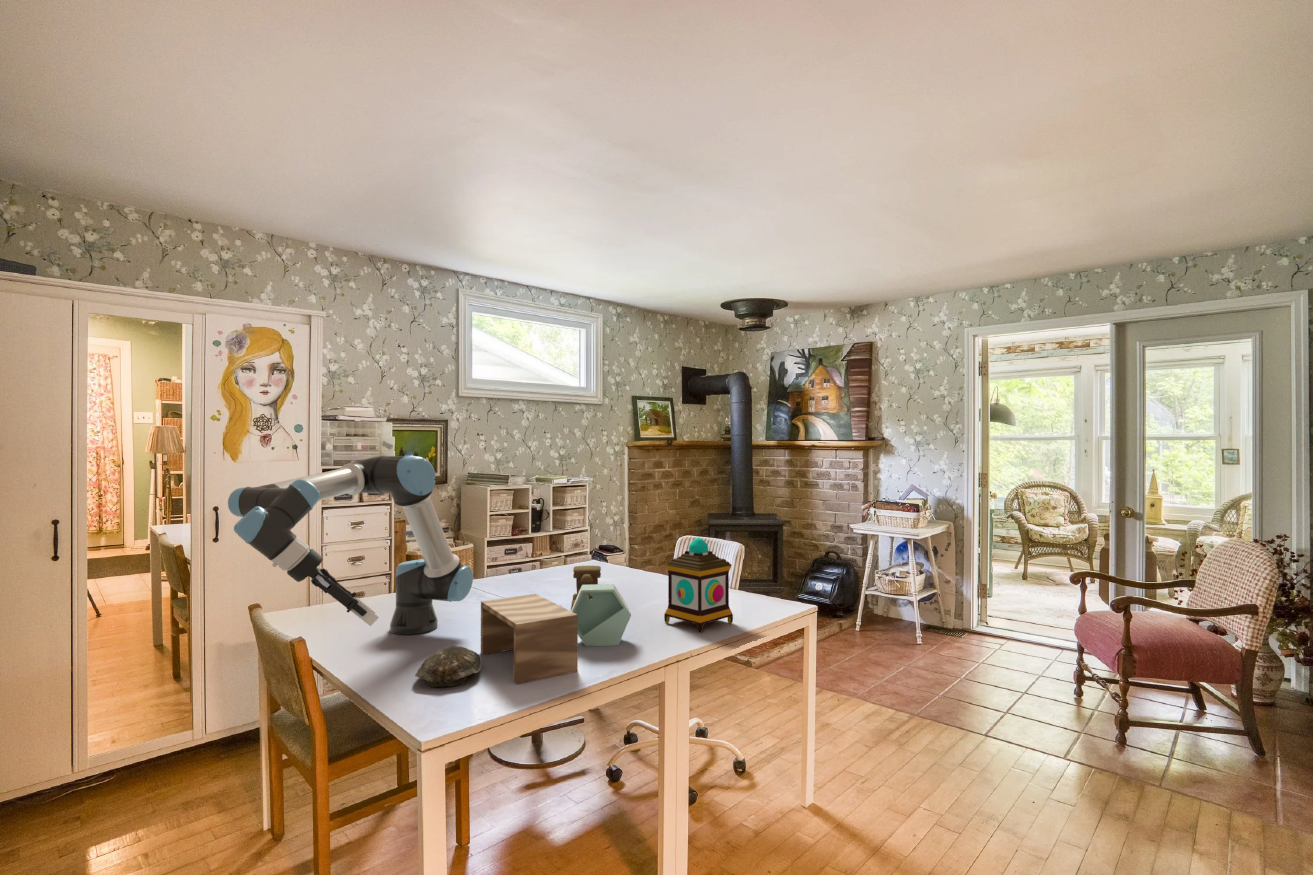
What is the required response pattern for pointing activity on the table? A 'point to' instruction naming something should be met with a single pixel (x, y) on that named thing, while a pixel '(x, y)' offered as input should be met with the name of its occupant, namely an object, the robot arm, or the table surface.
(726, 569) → the decorative lantern
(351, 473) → the robot arm
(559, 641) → the walnut shelf
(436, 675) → the turtle shell
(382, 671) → the table surface
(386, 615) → the table surface
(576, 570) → the wooden toy train
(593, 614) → the planter
